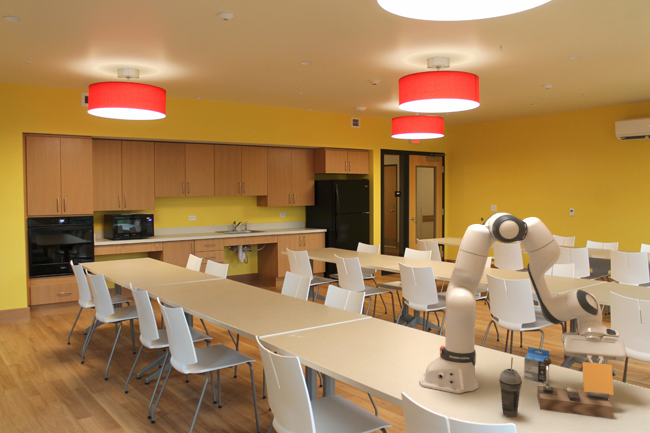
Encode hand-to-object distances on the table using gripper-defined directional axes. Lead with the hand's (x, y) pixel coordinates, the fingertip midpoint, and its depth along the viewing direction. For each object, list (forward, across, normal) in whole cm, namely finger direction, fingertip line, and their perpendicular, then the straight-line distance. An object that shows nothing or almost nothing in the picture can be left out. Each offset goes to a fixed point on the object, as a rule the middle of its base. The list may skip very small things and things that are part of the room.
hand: (596, 368), depth 175 cm
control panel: (+13, -8, +6) cm, 16 cm away
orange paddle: (+9, 0, +2) cm, 9 cm away
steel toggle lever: (+9, -16, +2) cm, 18 cm away
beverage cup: (+23, -29, -4) cm, 37 cm away
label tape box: (-4, -18, +23) cm, 29 cm away
